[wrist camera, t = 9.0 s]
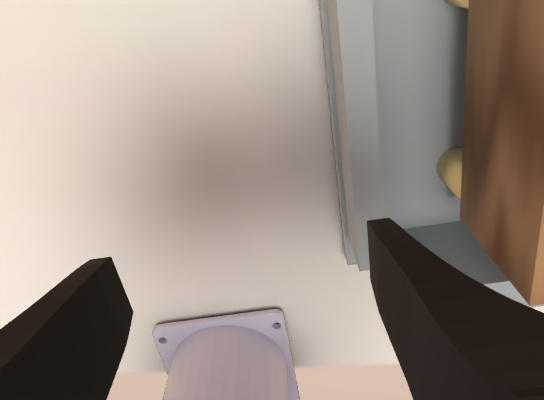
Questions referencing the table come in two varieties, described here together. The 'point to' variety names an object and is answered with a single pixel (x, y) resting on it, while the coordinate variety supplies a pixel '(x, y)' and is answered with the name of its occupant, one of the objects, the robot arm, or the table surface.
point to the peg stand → (402, 126)
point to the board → (506, 139)
